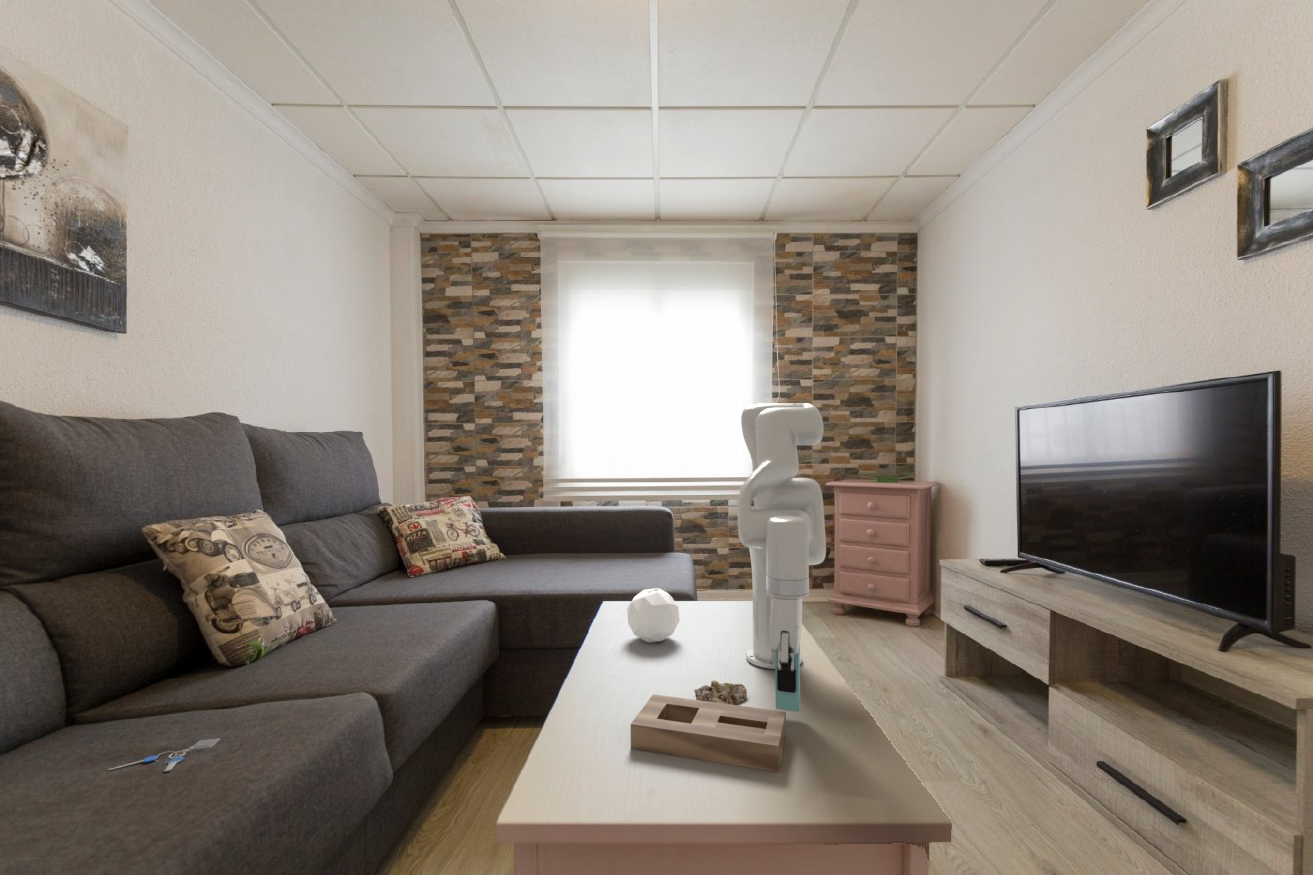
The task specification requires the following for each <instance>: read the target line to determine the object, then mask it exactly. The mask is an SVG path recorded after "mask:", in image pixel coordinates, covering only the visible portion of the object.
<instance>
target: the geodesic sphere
mask: <svg viewBox="0 0 1313 875" xmlns="http://www.w3.org/2000/svg"><path fill="white" fill-rule="evenodd" d="M670 594H671V593H670ZM670 594H669V593H668V592H667V591H666V587H664V588H663V589H662V588H659V587H656V588H648V589H643V590H641V591H640V592H639V593H637V594H636V595H635V596H634V597H633V599H632V600H631V602H630V603H629V605H628V607H627V609H626V611H627V624H628V626H629V628H630V629H631V631H632V633H633V635H634V636H636V637H637V638H639V639H641V640H642V641H644V642H646V643H647V644H649V643H650V644H651V643H657V642H663V641H664V640H666V639H667V638H668V637H670V636H672V635H673V634H674V632H675V631H676V628H677V626H678V624H679V622H680V614H679V606H678V604H677V602H676V601H675V600H674V598H673V597H672V595H670Z"/></svg>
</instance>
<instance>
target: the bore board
mask: <svg viewBox="0 0 1313 875" xmlns="http://www.w3.org/2000/svg"><path fill="white" fill-rule="evenodd" d="M786 736H787V712H786V711H785V710H778V709H767V708H760V707H752V706H745V705H738V704H734V705H731V704H723V703H716V702H708V701H700V700H697V699H693V698H691V699H690V698H683V697H676V696H668V695H661V694H656V693H655V694H654V693H653V694H652V695H651V696H650V698H649V699H648V700H647V702H646V703H645V704H644V705H643V707H642V708H641V710H639V712H638V713H637V715H636V716H635V718H633V720H632V721H631V723H630V749H633V750H639V751H645V752H651V753H656V754H657V753H658V754H663V755H669V756H675V757H681V758H688V759H693V760H701V761H707V762H713V763H719V764H726V765H729V766H737V767H744V768H750V769H754V770H755V769H756V770H762V771H769V772H772V773H773V772H775V773H779V772H780V769H781V768H780V767H781V762H782V757H783V751H784V747H785V741H786V738H787V737H786Z"/></svg>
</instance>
